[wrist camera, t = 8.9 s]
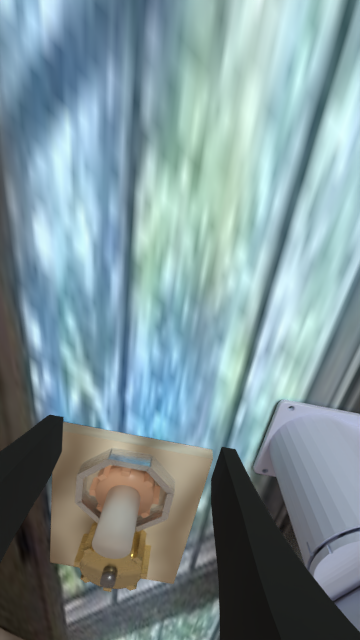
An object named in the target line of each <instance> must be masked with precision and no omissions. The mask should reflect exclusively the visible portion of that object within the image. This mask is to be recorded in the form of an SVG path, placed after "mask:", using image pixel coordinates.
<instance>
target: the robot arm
mask: <svg viewBox="0 0 360 640" xmlns="http://www.w3.org/2000/svg"><path fill="white" fill-rule="evenodd" d="M290 406H293V407H292V408H289V407H290ZM62 439H63V417H60V416H54V415H49V416H47V417H46V418H44V419H43V420H42V421H40V422H39V423H38V424H37V425H35V426H34V427H33V428H31V429H30V430H29V431H28V432H26V433H25V434H24V435H22V436H21V437H20V438H18V439H17V440H15V441H14V442H13V443H11V444H10V445H9V446H7V447H6V448H4V449H3V450H2V451H0V562H1V560H2V558H3V556H4V555H5V553H6V551H7V549H8V547H9V545H10V543H11V541H12V539H13V538H14V536H15V534H16V532H17V531H18V529H19V527H20V526H21V524H22V522H23V521H24V519H25V517H26V516H27V514H28V512H29V511H30V509H31V508H32V506H33V504H34V503H35V501H36V499H37V498H38V496H39V494H40V493H41V491H42V489H43V488H44V486H45V484H46V483H47V481H48V479H49V478H50V476H51V474H52V472H53V470H54V468H55V466H56V464H57V461H58V459H59V457H60V455H61V453H62ZM253 468H254V471H255V472H256V473H258V474H263V475H268V476H274V477H277V481H278V484H279V487H280V490H281V493H282V496H283V499H284V502H285V505H286V508H287V511H288V514H289V517H290V521H291V524H292V527H293V530H294V533H295V536H296V539H297V542H298V545H299V548H300V551H301V554H302V558H303V561H304V564H305V566H304V565H303V563H302V562H301V560H300V559H299V558H298V556H297V555H296V553H295V552H294V551H293V549H292V548H291V546H290V545H289V543H288V542H287V541H286V539H285V538H284V536H283V535H282V533H281V532H280V530H279V528H278V527H277V525H276V524H275V522H274V520H273V519H272V517H271V516H270V514H269V512H268V511H267V509H266V507H265V505H264V504H263V502H262V500H261V498H260V497H259V495H258V493H257V491H256V489H255V487H254V486H253V484H252V482H251V480H250V478H249V476H248V474H247V472H246V470H245V468H244V466H243V464H242V462H241V460H240V458H239V456H238V453H237V451H236V450H235V449H231V448H225V447H222V448H221V451H220V454H219V457H218V460H217V463H216V466H215V469H214V472H213V475H212V479H211V506H212V517H213V527H214V536H215V546H216V556H217V565H218V578H219V607H220V640H360V414H358V413H352V412H347V411H342V410H337V409H332V408H326V407H321V406H316V405H311V404H305V403H300V402H295V401H290V400H281V401H280V402H279V403H278V405H277V408H276V410H275V413H274V415H273V418H272V420H271V423H270V425H269V428H268V430H267V433H266V435H265V438H264V441H263V443H262V446H261V448H260V451H259V453H258V456H257V458H256V461H255V463H254V466H253Z"/></svg>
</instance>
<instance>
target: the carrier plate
mask: <svg viewBox="0 0 360 640" xmlns="http://www.w3.org/2000/svg"><path fill="white" fill-rule="evenodd" d="M110 448H112V449H113V448H118V449H124V450H129V451H135V452H140V453H145V454H151V456H154V457H155V458H156V459H157V460H158V462H159V463H160V464H161V465H162V466H163V467H164V468H165V469H166V470H167V471H168V473H169V474H170V475H171V476H172V477H173V478H174V479H175V492H174V497H173V501H172V505H171V508H170V512H169V516H168V519H167V520H165V521H163V522H161V523H158V524H156V525H153V526H151V527H148V528H146V529H143V530H144V531H145V532H146V533H147V534H146V540H145V542H146V545H151V551H150V559H149V566H148V574H147V578H146V579H149V580H154V581H160V582H166V583H171V584H173V583H174V580H175V577H176V574H177V571H178V568H179V564H180V561H181V558H182V555H183V552H184V549H185V545H186V542H187V539H188V536H189V533H190V530H191V527H192V523H193V520H194V517H195V514H196V511H197V508H198V504H199V501H200V498H201V495H202V492H203V489H204V485H205V482H206V479H207V476H208V473H209V470H210V466H211V463H212V460H213V455H212V450H211V449H206V448H200V447H195V446H190V445H184V444H179V443H174V442H168V441H163V440H158V439H152V438H147V437H142V436H136V435H131V434H125V433H120V432H115V431H109V430H104V429H99V428H93V427H88V426H83V425H77V424H72V423H67V422H63V439H62V453H61V455H60V457H59V459H58V461H57V464H56V466H55V468H54V470H53V472H52V506H51V547H50V562H52V563H57V564H63V565H69V566H74V560H75V557H76V555H77V552H78V549H79V546H80V543H81V540H82V538H83V535H84V534H89V532H90V529H91V526H92V523H95V521H94V520H93V519H92V518H91V517H90V516H89V515H88V514H87V513H85V512H84V511H83V510H82V509H81V508H80V507H79V506H78V505H77V504H75V503H76V502H75V492H76V478H77V474H78V472H79V470H80V467H81V465H82V464H83V462H85V461H87V460H89V459H91V458H93V457H95V456H97V455H99V454H101V453H103V452H105V451H106V450H108V449H110ZM111 466H112V465H111ZM99 471H100V470H99ZM99 471H97V472H95V473H93V474H91V475H89V476H88V478H87V489H86V490H87V491H88V492H89V490H90V487H91V484H92V482H93V479H94V477H96V478H97V477H98V474H99ZM154 483H155V486H160V485H159V484H158V483H157V482H156V481H155V480H154ZM165 493H166V492H165V491H164V490H163V489H162V487H160V495H159V503H158V504H152V506H151V508H154V507H156V506H158V505H161V504H163V501H164V497H165ZM94 497H95V496H94ZM95 498H96V497H95ZM151 508H150V509H151Z"/></svg>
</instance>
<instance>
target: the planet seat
mask: <svg viewBox="0 0 360 640" xmlns="http://www.w3.org/2000/svg"><path fill="white" fill-rule="evenodd" d="M109 465H115V466H120V467H125V468H131V469H136V470H142V471H147V473H148V474H149V475H150V476H151V477H152V478H153V479H154V480H155V481H156V482H157V483H158V484H159V485H160V486H161V487H162V489H163V490H164V491H165V492H166V493H165V497H164V501H163V504H161V505H158V506H156V507H154V508H151V509H150V515H149V516H147V517H145V518H143V517H142V516H140V515H138V516H137V522H136V527H135V532H136V531H137V532H139V531H141V530H143V529H146V528H148V527H151V526H153V525H156V524H158V523H161V522H163V521H165V520H167V519H168V516H169V512H170V508H171V505H172V501H173V497H174V492H175V479H174V478H173V477H172V476H171V475H170V474H169V473H168V471H167V470H166V469H165V468H164V467H163V466H162V465H161V464H160V463H159V462H158V460H157V459H156V458H155V457H154V456H151V454H145V453H140V452H135V451H129V450H124V449H118V448H113V449H112V448H110V449H108V450H106V451H105V452H103V453H101V454H99V455H97V456H95V457H93V458H91V459H89V460H87V461H85V462H83V464H82V465H81V467H80V470H79V472H78V474H77V478H76V492H75V502H76V503H75V504H77V505H78V506H79V507H80V508H81V509H82V510H83V511H84V512H85V513H87V514H88V515H89V516H90V517H91V518H92V519H93V520H94V521H95V522H96V523H98V522H99V518H100V515H101V512H100V511H99V510H98V509H97V505H98V502H97V500H96V498H95V497H94V496H92V495H89V492H88V491H87V490H86V489H87V478H88V476H89V475H91V474H93V473H95V472H97V471H99V470H101V469H103V468H105V467H107V466H109Z"/></svg>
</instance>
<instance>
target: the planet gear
mask: <svg viewBox="0 0 360 640" xmlns="http://www.w3.org/2000/svg"><path fill="white" fill-rule="evenodd" d="M160 487H161V486H155V483H154V479H153V478H152V477H151V476H150V475H149V474H148V473H147V471H142V470H136V469H131V468H125V467H120V466H115V465H112V466H111V465H109V466H107V467H105V468H103V469H101V470H100V471H99V474H98V477H97V478H96V477H94V479H93V482H92V484H91V487H90V490H89V495H92V496H95V497H96V500H97V502H98V505H97V509H98V510H99V511H100V512H101V515H100V518H99V522H98V525H97V528H96V531H95V534H94V537H93V540H92V547H93V549H94V551H95V552H96V553H98V554H99V555H101V556H103V557H106V558H110V559H120V558H124V557H126V556H127V555H129V553H130V552H131V548H132V543H133V537H134V532H135V527H136V522H137V516H138V515H140V516H142V517H143V518H145V517H147V516H149V515H150V508H151V506H152V504H158V503H159V495H160Z"/></svg>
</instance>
